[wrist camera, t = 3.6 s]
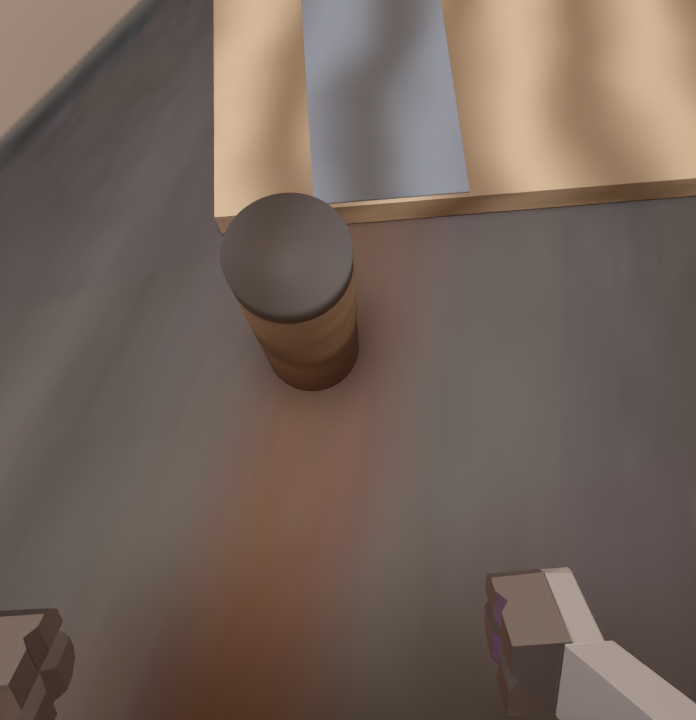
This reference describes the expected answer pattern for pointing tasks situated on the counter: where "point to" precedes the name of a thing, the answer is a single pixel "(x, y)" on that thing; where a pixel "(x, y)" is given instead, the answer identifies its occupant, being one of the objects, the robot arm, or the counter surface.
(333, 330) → the peg
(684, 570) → the counter surface
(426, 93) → the plywood board
